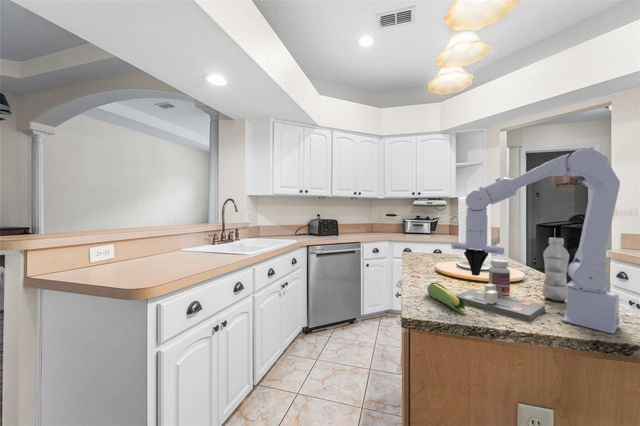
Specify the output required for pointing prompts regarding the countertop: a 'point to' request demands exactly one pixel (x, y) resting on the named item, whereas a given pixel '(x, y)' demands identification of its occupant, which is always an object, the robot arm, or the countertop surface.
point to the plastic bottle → (555, 270)
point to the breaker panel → (503, 305)
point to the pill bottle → (500, 276)
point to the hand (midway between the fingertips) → (475, 274)
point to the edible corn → (446, 297)
